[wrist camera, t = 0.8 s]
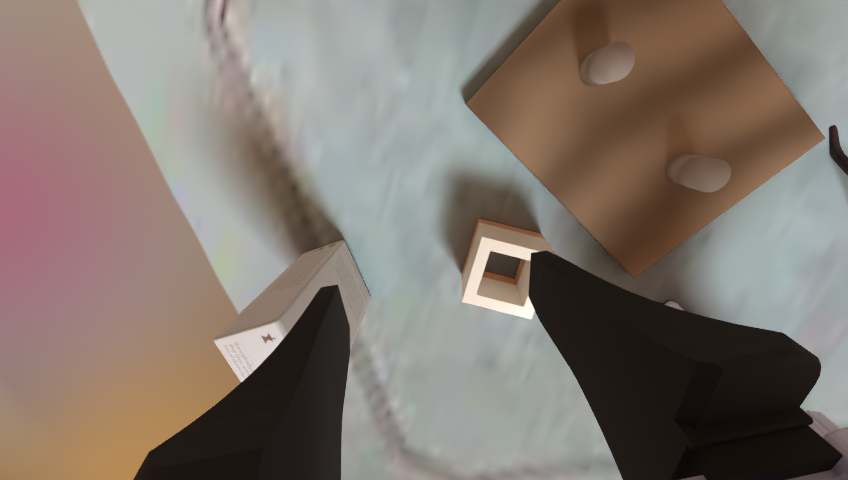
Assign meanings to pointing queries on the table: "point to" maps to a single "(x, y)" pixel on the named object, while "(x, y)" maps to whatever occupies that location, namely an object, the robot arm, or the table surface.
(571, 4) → the pin board
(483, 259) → the sleeve
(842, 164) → the eyeglasses
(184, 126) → the table surface
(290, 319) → the skincare box
